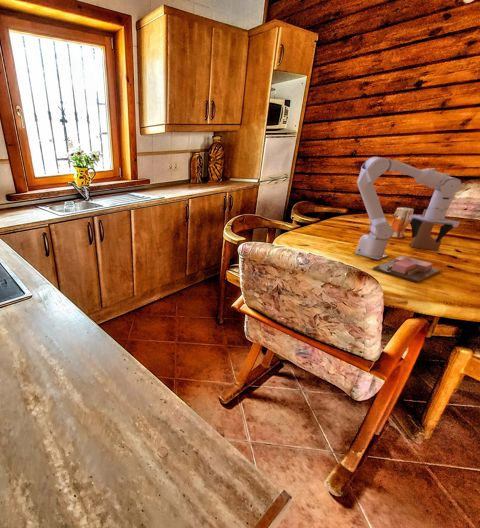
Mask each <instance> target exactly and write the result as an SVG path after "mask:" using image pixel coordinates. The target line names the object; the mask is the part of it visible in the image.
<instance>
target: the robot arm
mask: <svg viewBox="0 0 480 528" xmlns="http://www.w3.org/2000/svg"><path fill="white" fill-rule="evenodd" d="M386 172H387V173H390V172H398V173H400V174H404V175H407V176H409V177H412V178H413V179H414V182H415V183H417V184H420V185H422V186H426V187H428V188H431V189H434V191H433V193H432V196H431V198H430V202H429V204H428V206H427V208H426V209H427V211H426V214H425V216H422V214H421V215H420V214H413V215H410V217H409V220H410V222H409V224H410V227H411V238H412V239H413V238H414V237H416V236H417V233H418V230H419V228H420V226H421V224H422V222H430V223H435V224H437V225H441V226H440V228H439V232H438V235H437V237H436V242H440V241H441V242H442V239H443V238H444V237H446V235H447V234H448V233H449V232H450V231H451V230H453V229H454V228H457V227H459V225H460V223H461V221H459V220H452V219H448V218H446V215H447V213H448V211H449V209H450V206H451V204H452V201H453V199H454V197H455V194H456V193H457V192H459V191H460V190H461V189H462V187H463V185H462V181H461V179H459V178H456V177H452V176H450V174H449V173H442V172H439V171H437V169H436V168H434V167H431V168H428V167H427V168H423V169H419V168H417V167H415V166H412V165H410V164H406V163H404V162H401V161H399V160H395V159H391V158H385V157H380V156H371V157H369V158H367V159H366V160H365V161H364V162H363V164H362V165H361V166H360V172H359V175H358V178H357V180H356V185H357V188H358V190H359V193H360V196H361V199H362V202H363V205H364V207H365V210H366V213H367V215H368V219H369V220H368V221H369V227H368V230H369V231H370V232H369V233H368V234H362V235H361V236H360V238H359V240H358V243H357V247H356V249H355V250H356V251H355V252H354V254H355V255H358V256H359V255H360V256H363V257H366V258H370V259H374V260H377V261H379V260H381V259H384V258H387V257H388V255H387V254H385V252H386V249H387V246H388V244H389V240H390V238H392V237H391V236H392V235H393V234H394V229H393V228H392V225H390V224H389V221H388V220H387V218H386V217H385V214H384V211H383V208H382V205H381V202H380V200H379V196H378V194H377V191H376V187H375V185H374V183H375V182H376V181H377V179H378V178H379V177H380V176H381V175H383V174H385V173H386Z"/></svg>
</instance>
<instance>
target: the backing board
mask: <svg viewBox="0 0 480 528" xmlns="http://www.w3.org/2000/svg"><path fill="white" fill-rule="evenodd" d="M402 260H406V261H410V262H414V263H417V266H416V268H415V269H414V270H412V271H409V272H408V273H406V274H403V273H400V272H396V271H393V270H391V268H392V266H393V263H395V262H399V261H402ZM433 266H434V263H433V262H429V261H425V260H421V259H417V258H414V257H410V256H407V255H400V256H397V257H395V258H394V259H392V260H389V261H387V262H384V263H381V264H379V265H377V266H374V267H373V271H377V272H379V273H383V274H386V275H390V276H393V277H396V278H399V279H403V280H406V281H409V282H413V283H415V284H417V283H420V282H422V281H424V280H427V279H428V278H430V277H432V276H434V275H437V274H439V273H440V272H441V269H439V268H435V267H433Z"/></svg>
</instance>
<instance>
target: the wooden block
mask: <svg viewBox="0 0 480 528" xmlns="http://www.w3.org/2000/svg"><path fill="white" fill-rule="evenodd" d="M427 209H428V208H424V210H423V212H422V214H421V216H425V214H426V211H427ZM434 226H435V224H434V223H430V222H422V224H421V226H420V228H419V230H418V233H417V236H416V237H414V238H413V237H412V241H411V244H410V246H411V248H414V249H421V250H428V251H435V252H436V251H439V249H440V247H441V244H442V240H441V241H440V242H436V239H437V237H434V236H432V234H431V233H432V230H433V228H434Z"/></svg>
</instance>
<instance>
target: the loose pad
mask: <svg viewBox="0 0 480 528" xmlns="http://www.w3.org/2000/svg"><path fill="white" fill-rule="evenodd" d="M416 266H417V263H414V262H410V261H406V260H402V261H399V262H395V263H393V266H392V268H391V270H393V271H396V272H400V273H403V274H406V273H408V272H409V271H412V270H414V269H415V268H416Z"/></svg>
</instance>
